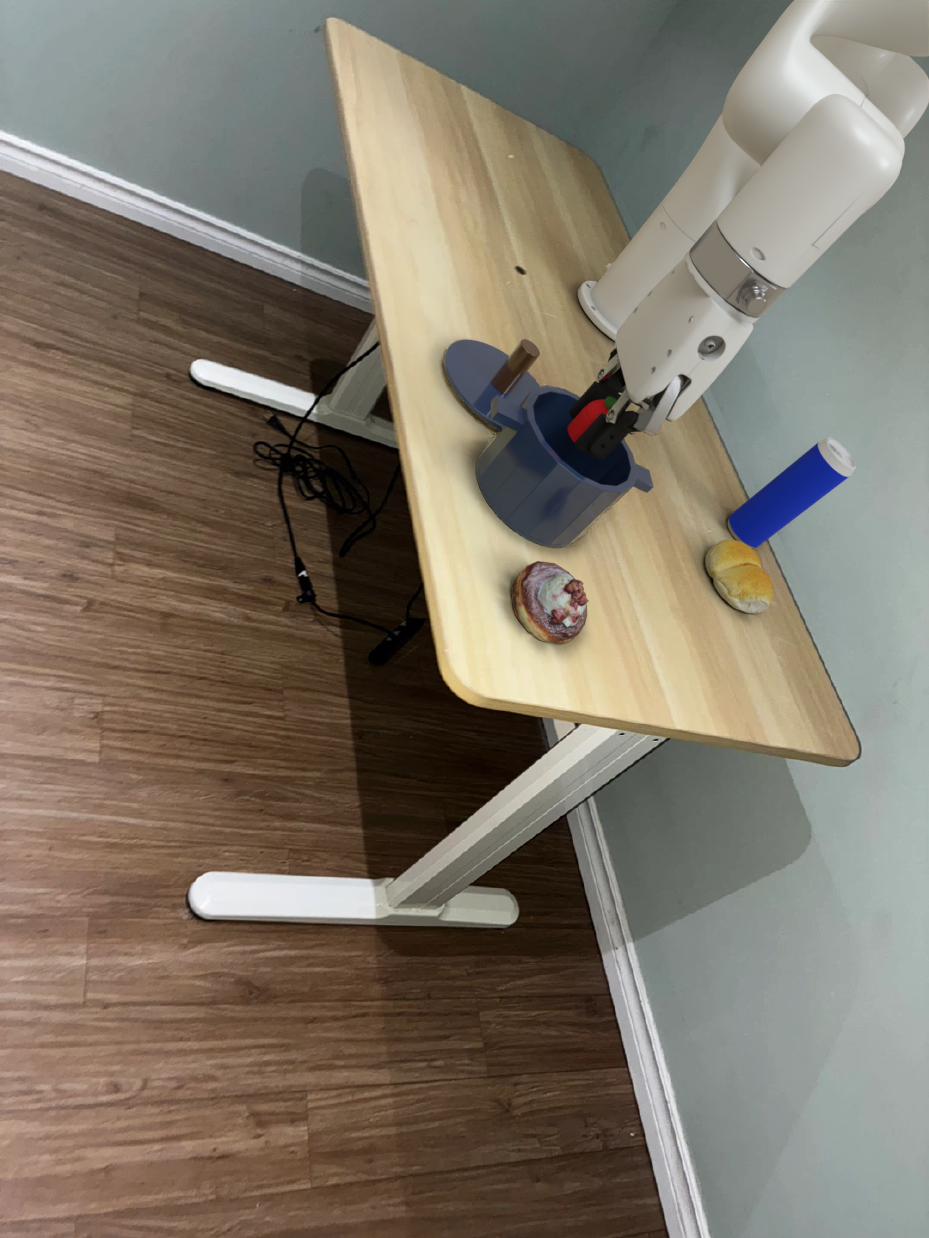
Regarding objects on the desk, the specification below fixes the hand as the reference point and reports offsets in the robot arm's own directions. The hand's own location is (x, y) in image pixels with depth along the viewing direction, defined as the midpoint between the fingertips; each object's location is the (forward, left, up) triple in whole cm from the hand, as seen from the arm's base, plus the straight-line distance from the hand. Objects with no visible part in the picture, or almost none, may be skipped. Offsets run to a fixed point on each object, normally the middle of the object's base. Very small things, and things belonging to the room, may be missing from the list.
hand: (585, 435), depth 74 cm
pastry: (+14, 0, -9) cm, 17 cm away
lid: (-14, -3, -8) cm, 17 cm away
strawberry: (0, 0, 0) cm, 0 cm away
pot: (0, 0, -9) cm, 9 cm away
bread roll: (0, +28, -9) cm, 30 cm away
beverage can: (-10, +33, -9) cm, 36 cm away
